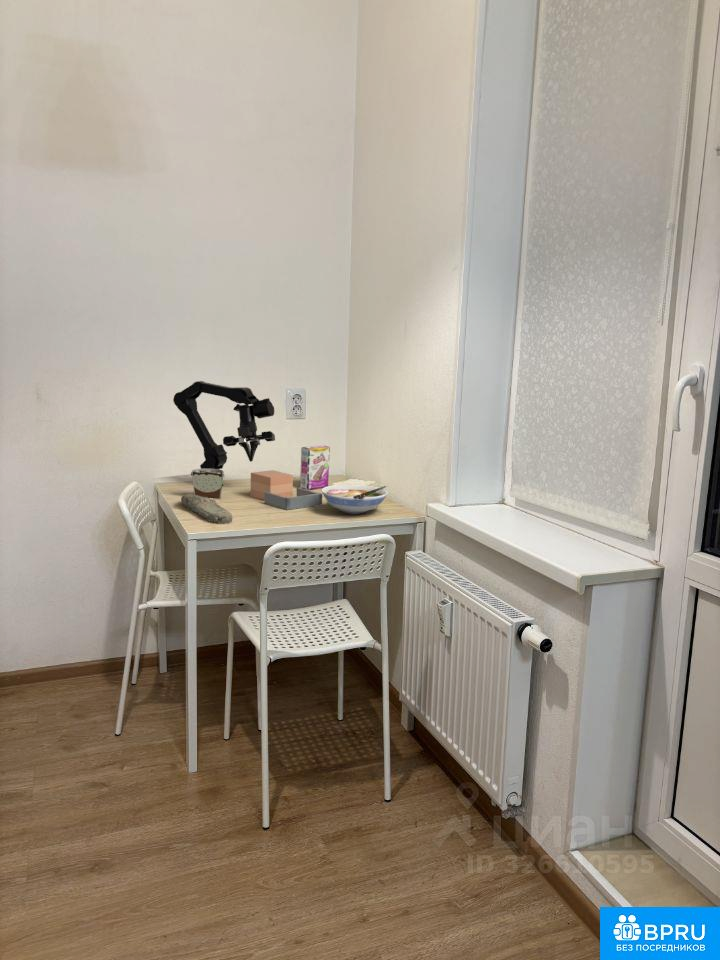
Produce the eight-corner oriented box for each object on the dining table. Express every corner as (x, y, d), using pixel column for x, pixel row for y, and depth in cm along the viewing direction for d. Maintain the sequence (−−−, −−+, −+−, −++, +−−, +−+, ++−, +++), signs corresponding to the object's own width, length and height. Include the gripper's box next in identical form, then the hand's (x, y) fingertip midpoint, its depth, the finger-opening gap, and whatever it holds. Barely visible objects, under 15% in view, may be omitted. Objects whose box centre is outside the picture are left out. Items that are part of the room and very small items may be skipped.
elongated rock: (209, 530, 240) (239, 529, 246) (211, 514, 239) (241, 512, 245) (173, 502, 269) (201, 501, 275) (174, 487, 268) (202, 486, 274)
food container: (228, 496, 284) (228, 469, 282) (224, 499, 278) (224, 472, 276) (195, 494, 285) (195, 467, 283) (190, 497, 279) (190, 470, 277)
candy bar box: (308, 490, 299) (309, 448, 296) (299, 488, 303) (300, 446, 300) (329, 487, 307) (330, 446, 304) (320, 485, 311) (321, 444, 308)
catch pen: (264, 503, 274) (264, 492, 274) (299, 498, 285) (299, 487, 284) (287, 510, 265) (287, 498, 264) (322, 504, 275) (322, 493, 274)
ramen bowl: (340, 501, 282) (341, 479, 281) (398, 509, 272) (399, 486, 271) (306, 514, 260) (307, 490, 258) (368, 523, 250) (369, 498, 249)
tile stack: (250, 496, 285) (250, 472, 283) (272, 493, 292) (272, 470, 290) (270, 502, 276) (270, 477, 275) (292, 499, 283) (292, 475, 282)
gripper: (217, 419, 285) (221, 461, 283) (267, 413, 284) (271, 454, 282) (225, 425, 296) (228, 465, 294) (273, 419, 295) (277, 459, 293)
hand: (251, 461), depth 291 cm, fingers closed
